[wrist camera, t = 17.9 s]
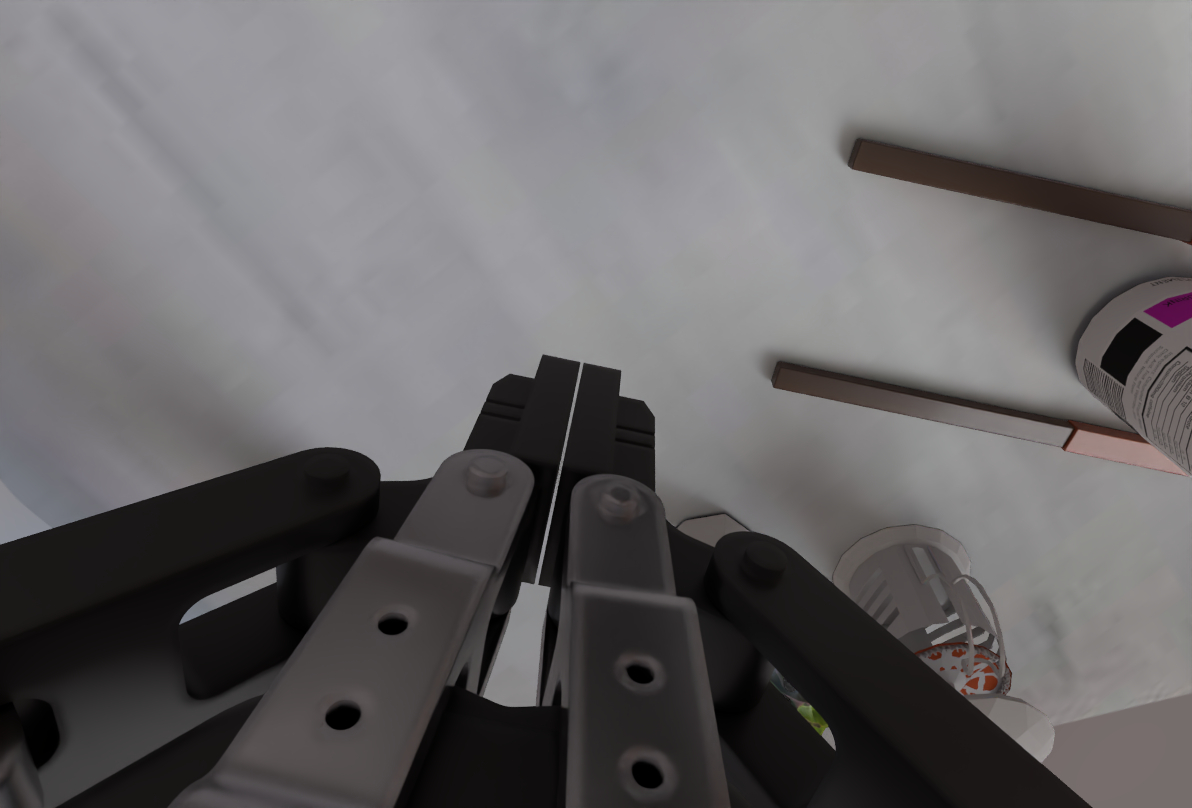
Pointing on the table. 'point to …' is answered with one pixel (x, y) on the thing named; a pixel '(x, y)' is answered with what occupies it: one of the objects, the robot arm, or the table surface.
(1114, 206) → the slide track
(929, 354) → the table surface
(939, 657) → the french press
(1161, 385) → the supplement can
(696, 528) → the flask
